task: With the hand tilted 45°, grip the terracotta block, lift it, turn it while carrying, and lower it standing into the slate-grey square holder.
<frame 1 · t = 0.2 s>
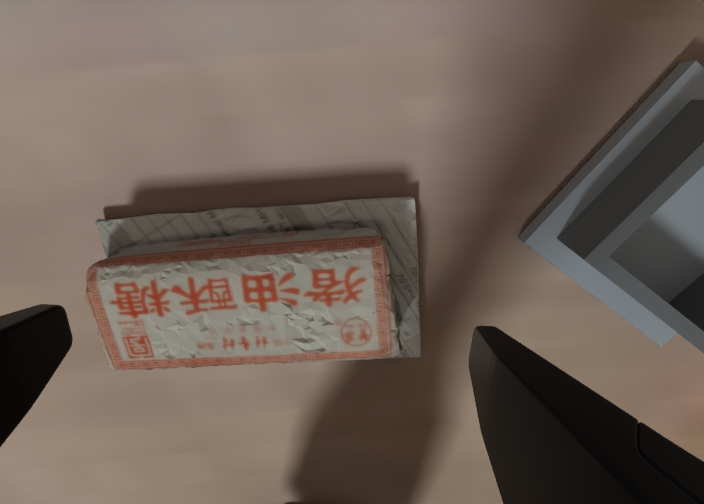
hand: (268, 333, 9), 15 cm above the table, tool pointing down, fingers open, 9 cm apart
packaged product: (270, 280, 26), on the table
holder: (663, 216, 22), on the table
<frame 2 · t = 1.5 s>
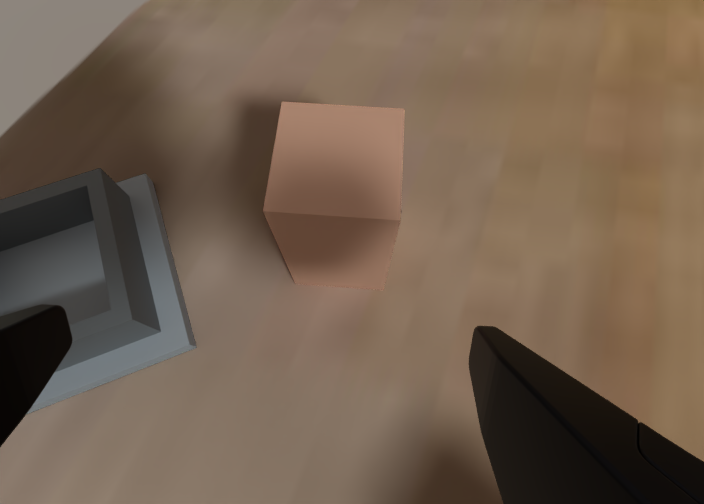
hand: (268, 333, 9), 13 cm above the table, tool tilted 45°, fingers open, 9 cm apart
terracotta block: (342, 246, 24), on the table
holder: (76, 292, 23), on the table
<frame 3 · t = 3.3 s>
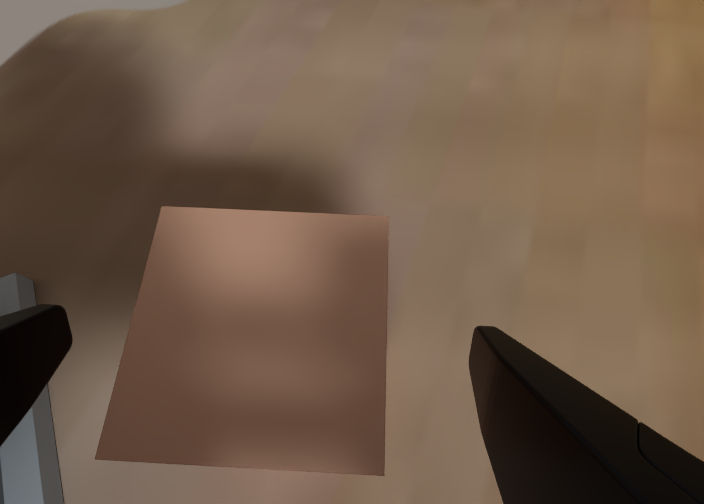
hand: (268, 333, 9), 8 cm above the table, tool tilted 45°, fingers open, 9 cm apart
terracotta block: (306, 376, 16), on the table
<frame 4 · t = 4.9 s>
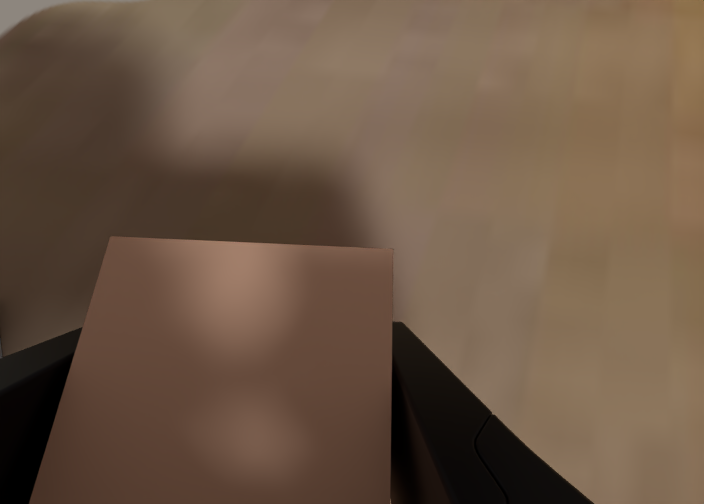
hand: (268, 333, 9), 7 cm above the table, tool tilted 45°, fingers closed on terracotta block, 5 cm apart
terracotta block: (298, 410, 15), on the table, touching gripper
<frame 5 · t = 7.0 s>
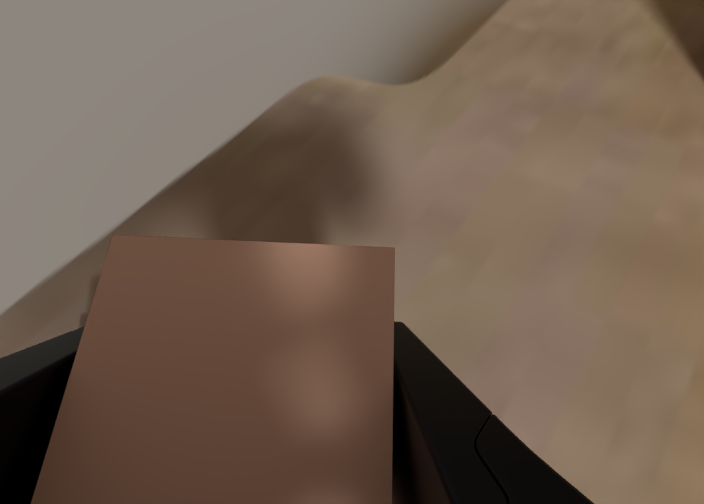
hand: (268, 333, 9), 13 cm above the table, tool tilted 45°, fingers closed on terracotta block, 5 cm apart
terracotta block: (299, 410, 15), point 7 cm above the table, touching gripper
when the fingers open (9 cm above the table, at t = 9.5 s): terracotta block drops 1 cm, resting on holder.
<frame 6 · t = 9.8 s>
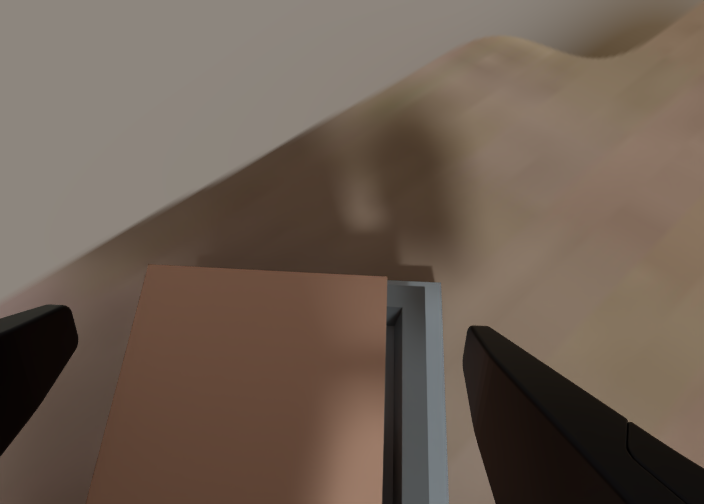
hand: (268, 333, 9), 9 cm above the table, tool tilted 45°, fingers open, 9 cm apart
terracotta block: (303, 411, 16), point 1 cm above the table, touching holder
holder: (305, 412, 17), on the table
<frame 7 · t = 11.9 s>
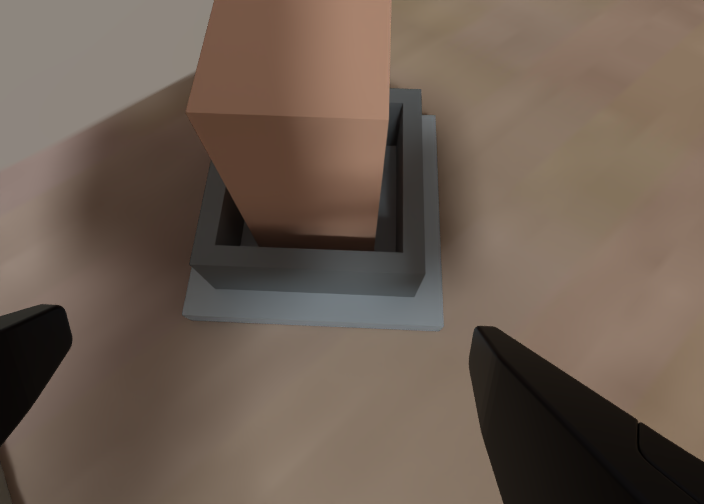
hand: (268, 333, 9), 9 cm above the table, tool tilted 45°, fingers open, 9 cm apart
terracotta block: (321, 204, 19), point 1 cm above the table, touching holder
holder: (322, 214, 20), on the table
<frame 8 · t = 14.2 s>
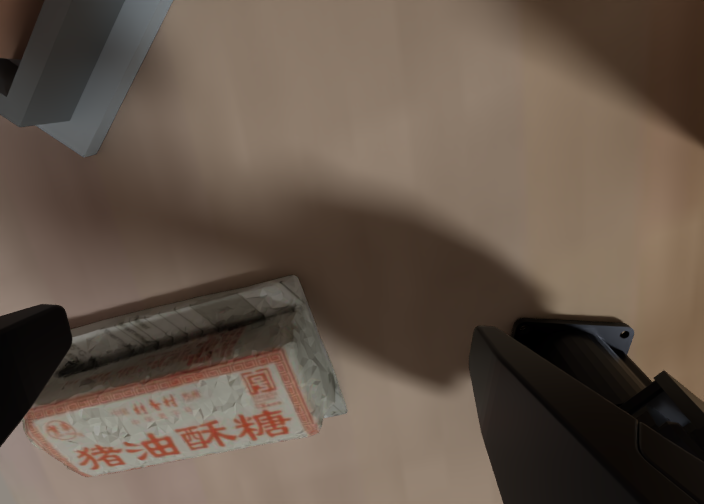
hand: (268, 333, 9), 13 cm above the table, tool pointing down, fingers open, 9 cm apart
packaged product: (193, 366, 26), on the table
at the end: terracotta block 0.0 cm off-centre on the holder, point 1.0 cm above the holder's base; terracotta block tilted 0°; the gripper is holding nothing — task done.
